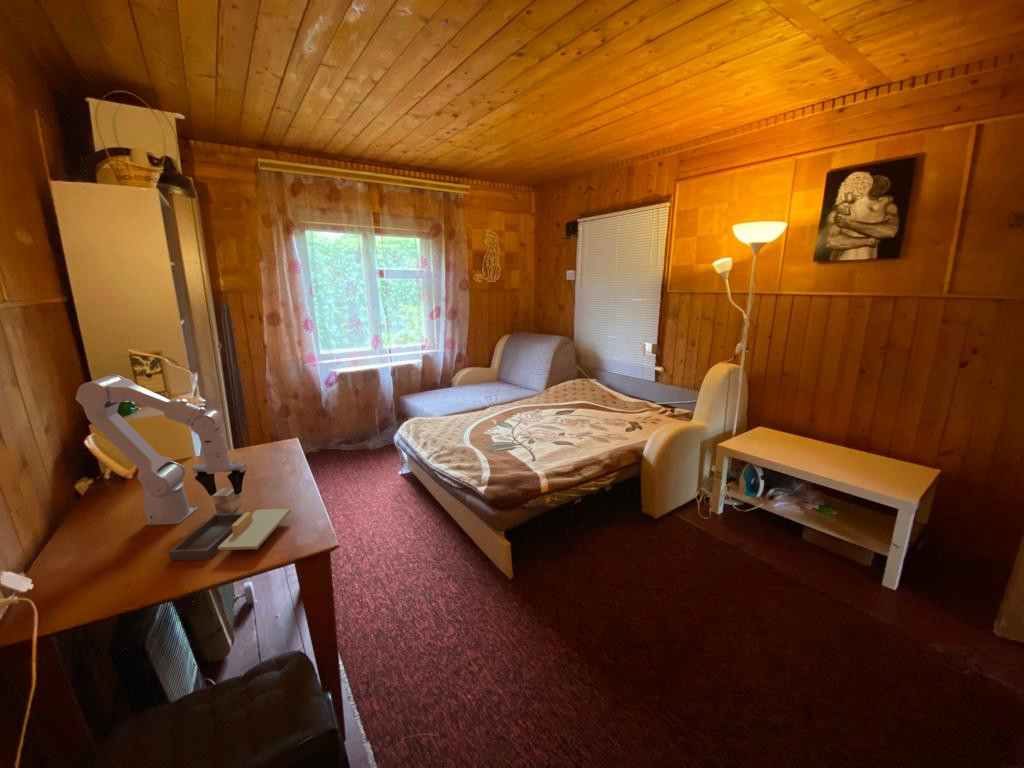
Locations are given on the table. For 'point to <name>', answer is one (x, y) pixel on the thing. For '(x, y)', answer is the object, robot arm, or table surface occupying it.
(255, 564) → the table surface
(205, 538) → the grey storage tray
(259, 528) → the lid
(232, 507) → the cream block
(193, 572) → the table surface
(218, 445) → the robot arm
